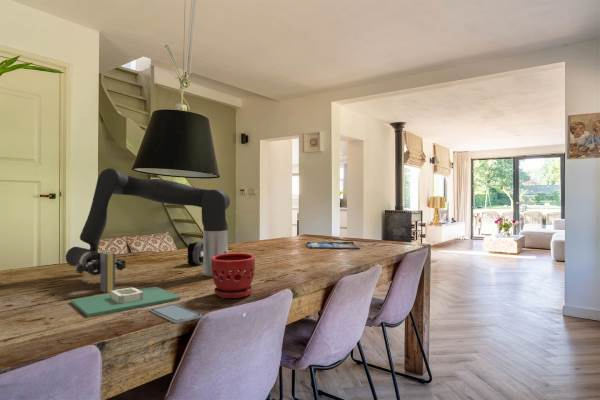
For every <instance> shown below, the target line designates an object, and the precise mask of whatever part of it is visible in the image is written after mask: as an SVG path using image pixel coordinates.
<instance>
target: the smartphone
mask: <svg viewBox="0 0 600 400" xmlns="http://www.w3.org/2000/svg"><path fill="white" fill-rule="evenodd" d="M149 312H151V313H153V314H154V315H157V316H159V317H161V318H164V319H165V320H166V321H170V322H171V323H173V324H181V323H185V322H188V321H192V320H197V319H200V318H202V317H203V315H202V314H201V313H199V312H196V311H194V310H192V309H188V308H186V307H183V306H182V305H179V304H176V303H175V304H168V305H163V306H158V307H154V308H152V307H151V308H150V309H149Z"/></svg>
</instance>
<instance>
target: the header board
mask: <svg viewBox="0 0 600 400" xmlns="http://www.w3.org/2000/svg"><path fill="white" fill-rule="evenodd" d="M175 301H181V296H179V295H176V294H175V293H172V292H169V291H167V290H164V289H163V288H160V287H158V286H150V287H144V288H138V289H137V288H136V287H133V286H132V287H126V288H119V289H115V290H112V291H110V292H109V293H105V294H104V293H103V294H98V295H91V296H86V297H79V298H74V299H71V300H70V303H71V304H72V305H73V306H74V308H75V307H76V308H77V309H78V310H79V312H81V313H82V314H83V315H85V316H86V317H87V318H91V317H96V316H102V315H107V314H113V313H117V312H123V311H128V310H133V309H139V308H143V307H149V306H154V305H159V304H164V303H169V302H175Z"/></svg>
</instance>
